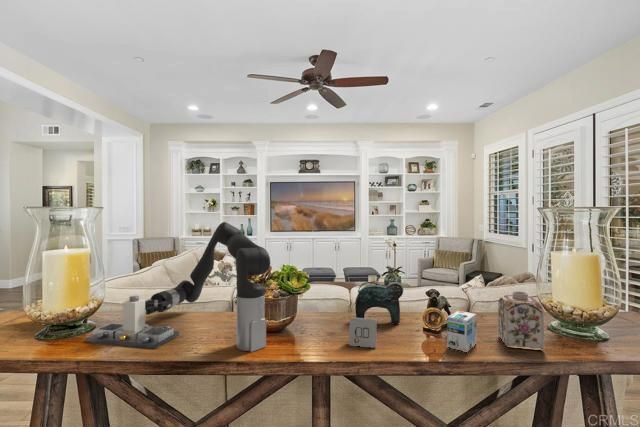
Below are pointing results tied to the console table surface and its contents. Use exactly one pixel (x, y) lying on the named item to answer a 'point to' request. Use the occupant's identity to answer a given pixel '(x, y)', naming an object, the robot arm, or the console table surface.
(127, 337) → the breaker board
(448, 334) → the light bulb box
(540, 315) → the decorative jar
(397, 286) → the dark green figurine
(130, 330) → the white tall block
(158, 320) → the console table surface
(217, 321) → the console table surface
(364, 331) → the electrical switch
